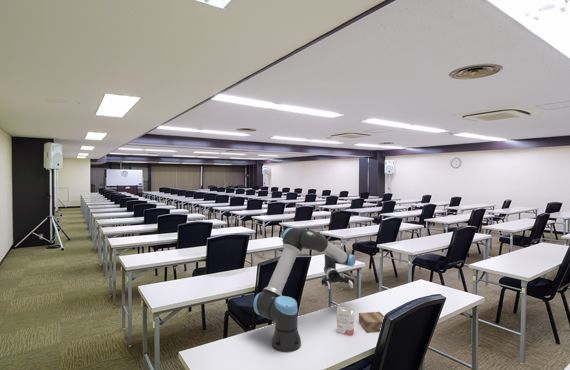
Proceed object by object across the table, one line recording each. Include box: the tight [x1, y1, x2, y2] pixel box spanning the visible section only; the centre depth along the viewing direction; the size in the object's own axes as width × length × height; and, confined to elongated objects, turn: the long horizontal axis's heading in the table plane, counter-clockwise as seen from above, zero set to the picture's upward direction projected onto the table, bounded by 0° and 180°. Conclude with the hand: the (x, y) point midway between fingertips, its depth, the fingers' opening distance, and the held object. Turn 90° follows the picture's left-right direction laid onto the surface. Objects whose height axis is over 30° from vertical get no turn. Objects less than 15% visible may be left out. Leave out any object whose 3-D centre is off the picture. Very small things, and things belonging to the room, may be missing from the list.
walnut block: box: [358, 311, 385, 333], centre depth 186 cm, size 13×13×6 cm
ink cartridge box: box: [336, 305, 355, 336], centre depth 179 cm, size 9×5×15 cm, turn 62°
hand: (340, 286), depth 189 cm, fingers open, 13 cm apart
